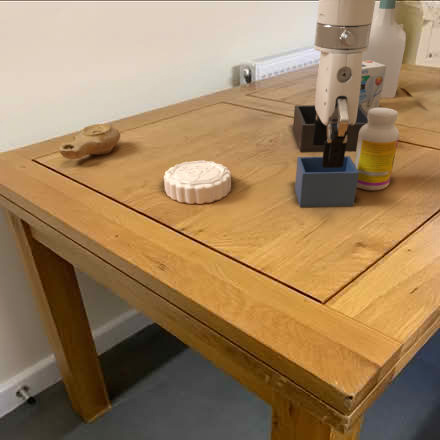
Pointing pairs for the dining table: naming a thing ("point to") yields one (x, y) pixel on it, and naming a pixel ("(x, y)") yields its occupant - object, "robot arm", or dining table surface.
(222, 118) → the dining table surface
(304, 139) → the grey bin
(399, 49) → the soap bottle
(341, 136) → the robot arm
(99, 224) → the dining table surface
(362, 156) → the supplement bottle
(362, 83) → the light bulb box
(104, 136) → the oil lamp
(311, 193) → the blue bin
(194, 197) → the mooncake
